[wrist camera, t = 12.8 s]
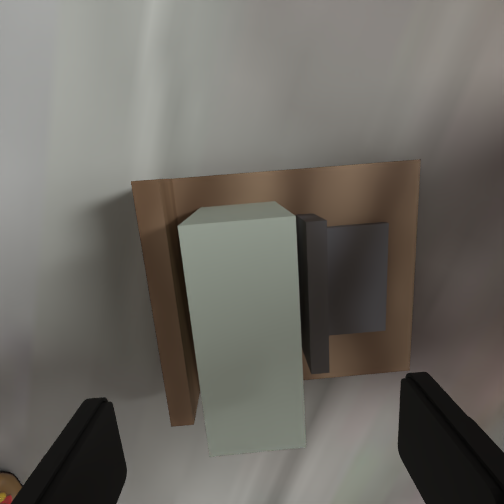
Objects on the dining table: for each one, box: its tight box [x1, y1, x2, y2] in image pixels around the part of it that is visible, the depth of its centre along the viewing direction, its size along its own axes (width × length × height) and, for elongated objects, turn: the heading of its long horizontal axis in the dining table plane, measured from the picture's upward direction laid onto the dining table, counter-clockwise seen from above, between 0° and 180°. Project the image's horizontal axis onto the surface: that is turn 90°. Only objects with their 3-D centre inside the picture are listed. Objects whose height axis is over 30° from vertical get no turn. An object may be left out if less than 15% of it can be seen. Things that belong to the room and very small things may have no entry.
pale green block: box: [178, 201, 306, 457], centre depth 18 cm, size 5×12×8 cm, turn 5°
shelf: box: [131, 159, 421, 427], centre depth 21 cm, size 18×16×5 cm
